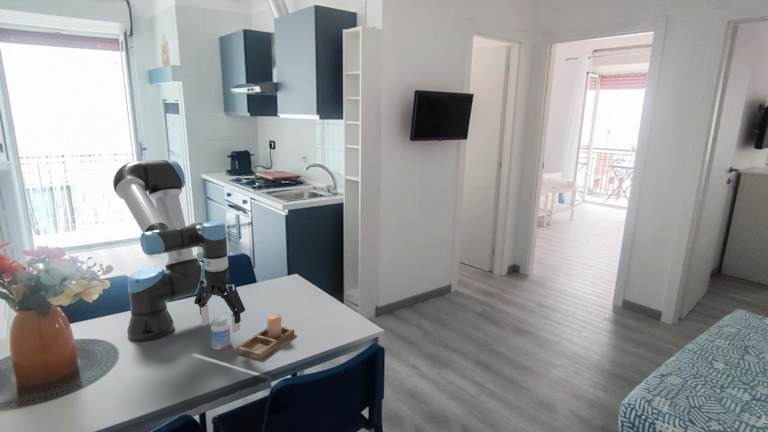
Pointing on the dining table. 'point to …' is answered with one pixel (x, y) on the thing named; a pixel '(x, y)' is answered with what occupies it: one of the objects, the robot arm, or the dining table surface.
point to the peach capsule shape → (274, 326)
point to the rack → (264, 344)
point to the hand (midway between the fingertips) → (220, 327)
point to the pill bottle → (220, 333)
